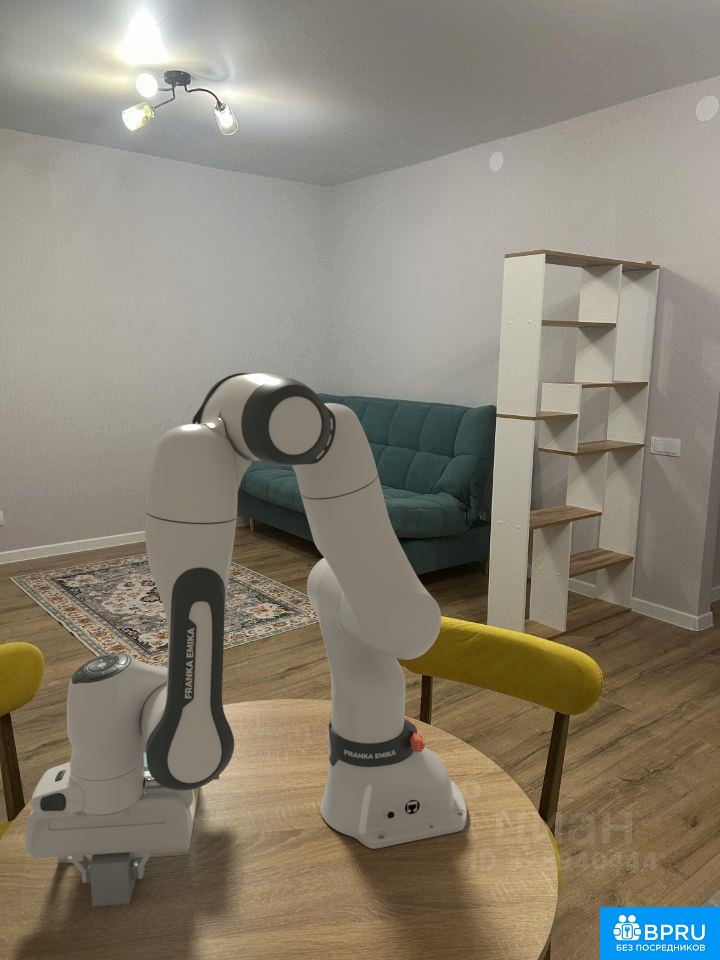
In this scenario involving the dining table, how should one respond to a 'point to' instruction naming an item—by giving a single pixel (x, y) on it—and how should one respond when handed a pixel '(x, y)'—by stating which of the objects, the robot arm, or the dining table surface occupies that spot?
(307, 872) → the dining table surface
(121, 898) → the grey block
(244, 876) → the dining table surface
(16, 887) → the dining table surface
